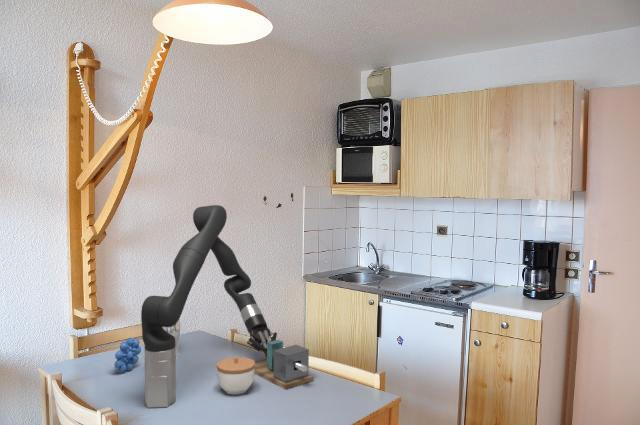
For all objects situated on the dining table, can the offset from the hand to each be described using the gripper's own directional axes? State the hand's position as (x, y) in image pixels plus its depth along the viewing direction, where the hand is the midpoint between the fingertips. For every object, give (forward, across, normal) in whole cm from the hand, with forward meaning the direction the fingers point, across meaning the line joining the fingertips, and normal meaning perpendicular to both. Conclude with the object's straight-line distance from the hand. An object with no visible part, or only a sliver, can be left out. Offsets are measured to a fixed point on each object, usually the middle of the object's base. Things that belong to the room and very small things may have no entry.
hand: (271, 358), depth 181 cm
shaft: (+9, 0, -5) cm, 11 cm away
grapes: (-21, -40, +28) cm, 53 cm away
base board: (+6, 0, +1) cm, 6 cm away
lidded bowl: (+8, -19, -1) cm, 21 cm away
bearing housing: (+10, 0, -6) cm, 12 cm away
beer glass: (-25, -21, +32) cm, 45 cm away
